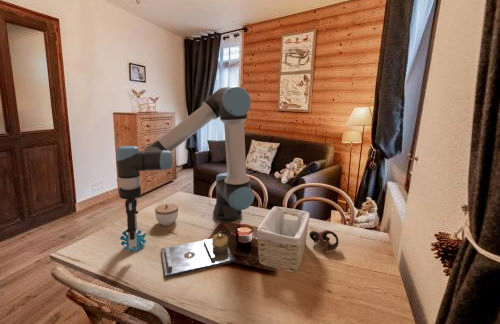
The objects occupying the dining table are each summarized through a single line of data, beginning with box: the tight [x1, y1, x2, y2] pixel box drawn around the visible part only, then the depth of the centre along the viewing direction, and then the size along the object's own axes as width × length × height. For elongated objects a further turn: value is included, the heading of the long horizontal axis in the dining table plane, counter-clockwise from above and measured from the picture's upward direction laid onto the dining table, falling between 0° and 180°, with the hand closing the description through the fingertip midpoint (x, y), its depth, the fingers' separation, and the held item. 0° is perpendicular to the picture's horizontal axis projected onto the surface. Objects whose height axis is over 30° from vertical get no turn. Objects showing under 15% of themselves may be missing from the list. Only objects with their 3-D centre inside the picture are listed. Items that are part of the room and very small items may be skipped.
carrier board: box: [160, 232, 236, 279], centre depth 95 cm, size 25×17×7 cm
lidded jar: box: [154, 203, 179, 226], centre depth 121 cm, size 11×11×9 cm
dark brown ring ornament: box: [309, 229, 339, 253], centre depth 104 cm, size 12×10×8 cm
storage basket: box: [256, 205, 311, 274], centre depth 97 cm, size 24×16×15 cm
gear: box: [119, 228, 147, 253], centre depth 101 cm, size 11×6×10 cm
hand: (133, 237), depth 99 cm, fingers open, 13 cm apart
